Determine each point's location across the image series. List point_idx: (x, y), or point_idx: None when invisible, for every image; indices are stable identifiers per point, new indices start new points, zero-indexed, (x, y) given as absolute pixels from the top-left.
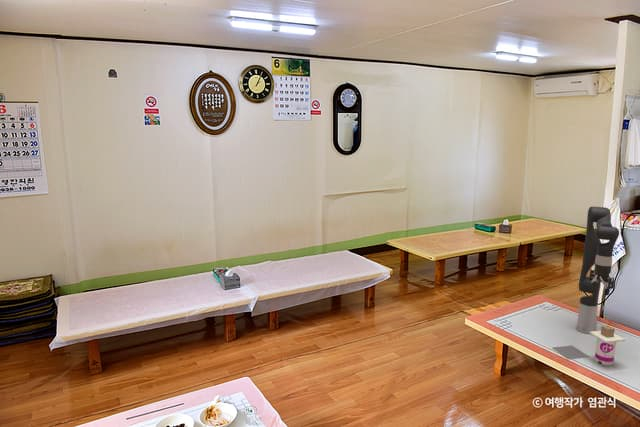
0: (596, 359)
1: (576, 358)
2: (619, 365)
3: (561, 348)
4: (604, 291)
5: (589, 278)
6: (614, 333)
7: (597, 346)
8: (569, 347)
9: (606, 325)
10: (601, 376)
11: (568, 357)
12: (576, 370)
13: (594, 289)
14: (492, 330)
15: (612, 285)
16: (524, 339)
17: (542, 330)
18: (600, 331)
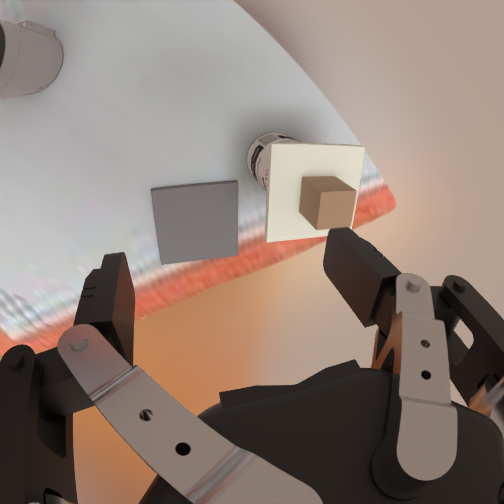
0: None
1: (237, 229)
2: (293, 117)
3: (169, 238)
4: (344, 297)
5: (48, 422)
6: (311, 145)
7: None
8: (165, 209)
9: (319, 202)
10: None
11: (227, 248)
12: (283, 256)
13: (129, 271)
14: None
15: (475, 315)
16: None
17: (32, 223)
18: (277, 194)
